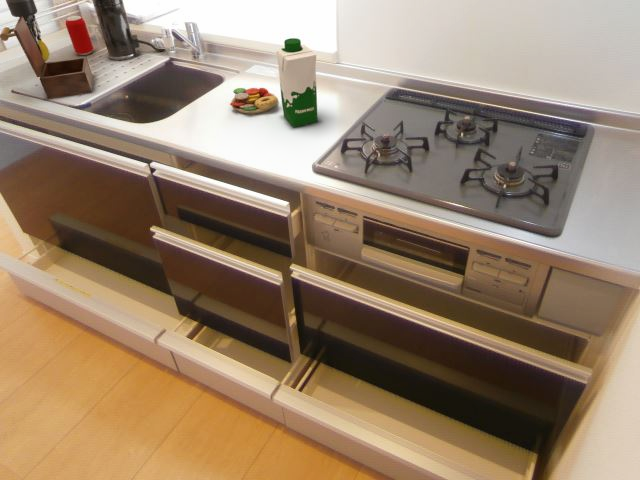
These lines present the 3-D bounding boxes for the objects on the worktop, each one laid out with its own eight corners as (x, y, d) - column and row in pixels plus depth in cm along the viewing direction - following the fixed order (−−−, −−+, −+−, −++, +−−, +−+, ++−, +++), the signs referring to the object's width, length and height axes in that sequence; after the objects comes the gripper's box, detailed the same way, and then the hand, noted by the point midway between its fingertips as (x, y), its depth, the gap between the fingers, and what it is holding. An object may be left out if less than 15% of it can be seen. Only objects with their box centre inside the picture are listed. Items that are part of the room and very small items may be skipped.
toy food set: (280, 112, 138) (279, 101, 136) (232, 119, 137) (230, 107, 135) (274, 92, 148) (273, 82, 146) (229, 98, 147) (227, 87, 145)
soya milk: (309, 109, 139) (305, 35, 127) (322, 122, 133) (319, 46, 120) (279, 115, 137) (272, 41, 124) (291, 130, 131) (285, 52, 118)
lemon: (48, 66, 166) (39, 41, 161) (32, 66, 166) (22, 42, 161) (55, 60, 170) (46, 35, 165) (39, 60, 171) (30, 36, 165)
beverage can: (78, 50, 182) (66, 15, 174) (96, 49, 182) (84, 14, 174) (74, 56, 177) (61, 21, 169) (92, 55, 177) (80, 19, 170)
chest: (93, 76, 163) (86, 56, 159) (91, 92, 154) (84, 72, 149) (51, 82, 161) (43, 62, 156) (47, 99, 151) (39, 78, 147)
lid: (22, 16, 147) (1, 20, 146) (16, 30, 138) (-6, 34, 137) (44, 61, 156) (25, 65, 155) (40, 76, 147) (19, 81, 146)
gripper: (29, 2, 151) (50, 58, 162) (34, -10, 161) (54, 44, 172) (1, 5, 149) (25, 62, 160) (9, -7, 160) (30, 47, 171)
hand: (40, 52), depth 166 cm, fingers closed on lemon, 5 cm apart
